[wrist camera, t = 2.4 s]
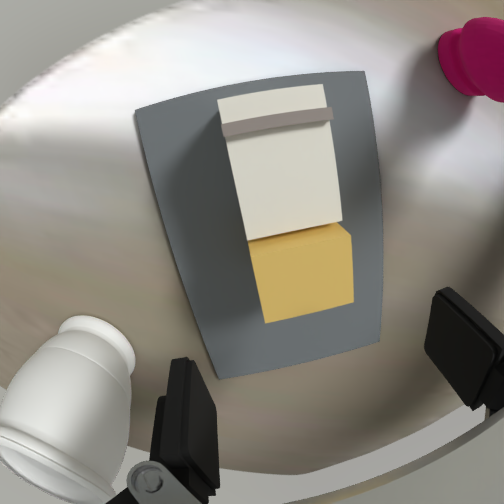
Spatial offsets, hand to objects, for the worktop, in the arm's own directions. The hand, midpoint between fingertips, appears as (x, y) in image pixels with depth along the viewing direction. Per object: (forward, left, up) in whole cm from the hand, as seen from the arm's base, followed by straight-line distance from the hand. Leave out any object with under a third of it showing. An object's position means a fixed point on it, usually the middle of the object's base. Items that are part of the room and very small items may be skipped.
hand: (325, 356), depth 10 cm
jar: (+18, +7, -13) cm, 24 cm away
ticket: (-1, -6, -12) cm, 14 cm away
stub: (-1, 0, -12) cm, 12 cm away
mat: (-1, +1, -13) cm, 13 cm away
